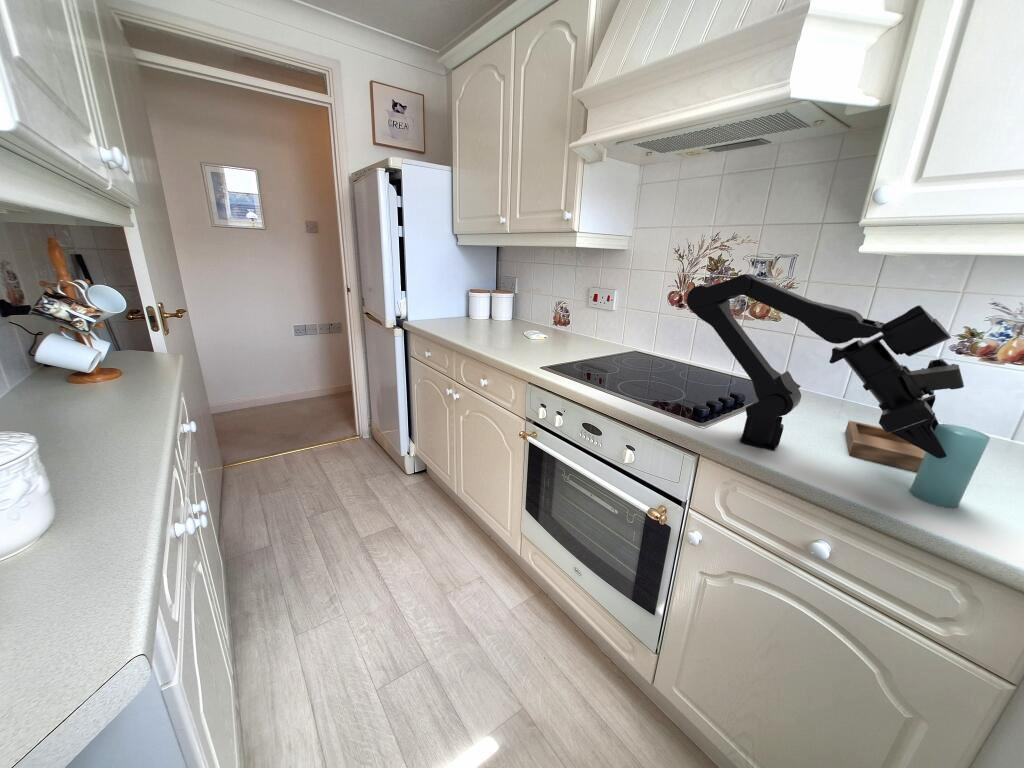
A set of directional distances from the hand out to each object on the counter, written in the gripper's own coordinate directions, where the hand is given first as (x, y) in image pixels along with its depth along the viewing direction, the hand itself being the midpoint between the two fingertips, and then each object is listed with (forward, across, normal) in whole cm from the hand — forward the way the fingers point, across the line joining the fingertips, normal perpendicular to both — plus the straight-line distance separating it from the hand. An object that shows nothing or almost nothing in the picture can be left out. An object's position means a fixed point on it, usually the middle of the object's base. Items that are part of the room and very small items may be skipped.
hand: (942, 448), depth 68 cm
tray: (+3, +16, +10) cm, 19 cm away
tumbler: (+7, 0, +5) cm, 9 cm away
